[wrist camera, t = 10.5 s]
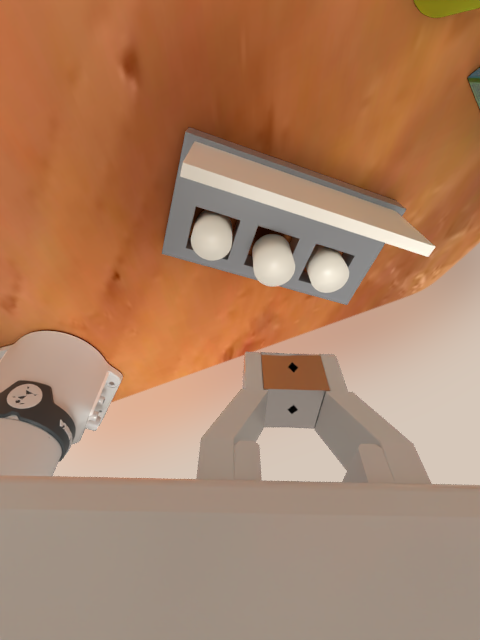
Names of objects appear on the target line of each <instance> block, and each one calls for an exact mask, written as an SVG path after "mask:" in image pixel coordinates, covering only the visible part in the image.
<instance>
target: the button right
mask: <svg viewBox="0 0 480 640" xmlns="http://www.w3.org/2000/svg"><path fill="white" fill-rule="evenodd" d="M305 267H306V270H307V273H308V276H309V278H310V281H311V284H312V286H313V287H314V288H315V289H316V290H317V291H319V292H323V293H330V292H334V291H337V290H339V289H340V288H342V287H343V286H344V285H345V283H346V282H347V280H348V278H349V269H348V267H347V265H346V263H345V261H344V260H343V258H342V256H341V254H340V252H339V251H338V250H335V249H332V248H328V247H325V246H322V245H318V246H315V247H314V249H313V251H312V253H311V255H310V257H309V259H308V261H307V263H306V265H305Z"/></svg>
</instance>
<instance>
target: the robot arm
mask: <svg viewBox="0 0 480 640" xmlns="http://www.w3.org/2000/svg"><path fill="white" fill-rule="evenodd" d="M122 379H123V375H122V374H121V373H120V372H119V371H118V370H116V369H115V368H113V367H112V366H110V365H109V364H108V363H107V362H106V360H105V359H104V358H103V356H102V355H101V354H100V353H99V352H98V351H97V350H96V349H95V348H94V347H93V346H91V345H90V344H88V343H87V342H85V341H83V340H81V339H79V338H77V337H75V336H72V335H69V334H66V333H61V332H56V331H37V332H33V333H29V334H27V335H25V336H23V337H21V338H20V339H19V340H18V341H17V342H16V343H14V344H13V345H9V346H5V347H2V348H0V640H480V485H451V484H431V482H430V480H429V478H428V475H427V473H426V471H425V469H424V466H423V464H422V462H421V460H420V458H419V455H418V453H417V451H416V449H415V447H414V445H413V443H411V442H410V441H409V440H408V439H407V438H406V437H405V436H403V435H402V434H401V433H400V432H399V431H398V430H396V429H395V428H394V427H393V426H392V425H391V424H389V423H388V422H387V421H386V420H385V419H384V418H382V417H381V416H380V415H379V414H378V413H377V412H375V411H374V410H373V409H372V408H371V407H369V406H368V405H367V404H366V403H365V402H364V401H362V400H361V399H360V398H359V397H358V396H357V395H355V394H354V393H353V392H348V390H347V387H346V384H345V381H344V378H343V375H342V373H341V369H340V366H339V364H338V361H337V358H336V356H335V355H334V354H319V355H318V354H284V353H265V352H261V353H259V352H245V357H244V370H243V389H241V390H240V391H239V392H238V394H237V395H236V396H235V397H234V399H233V400H232V401H231V402H230V403H229V405H228V406H227V407H226V408H225V410H224V411H223V412H222V413H221V414H220V416H219V417H218V418H217V419H216V421H215V422H214V423H213V424H212V426H211V427H210V428H209V429H208V431H207V432H206V433H205V434H204V435H203V437H202V438H201V443H200V452H199V461H198V470H197V479H155V478H108V477H60V476H56V477H55V476H53V473H54V471H55V469H56V466H57V464H58V462H59V461H61V460H62V459H63V458H64V456H65V455H66V453H67V452H68V451H69V449H70V447H71V444H75V443H77V442H79V441H80V440H81V437H82V435H83V433H84V430H85V428H86V429H87V428H88V429H90V430H93V431H96V430H97V427H98V426H99V425H100V423H101V421H102V420H103V418H104V415H105V414H106V412H107V409H108V407H109V405H110V403H111V401H112V399H113V397H114V395H115V393H116V391H117V389H118V387H119V385H120V383H121V381H122ZM263 427H295V428H315V431H316V432H317V433H318V435H319V436H320V437H321V439H322V440H323V441H324V442H325V444H326V445H327V446H328V447H329V449H330V450H331V451H332V452H333V454H334V455H335V456H336V457H337V459H338V460H339V461H340V462H341V464H342V465H343V466H344V468H345V469H346V470H347V473H346V475H345V477H344V479H343V482H299V481H261V465H260V449H259V445H258V444H257V443H256V440H257V439H258V437H259V435H260V434H261V432H262V430H263Z"/></svg>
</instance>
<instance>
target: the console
mask: <svg viewBox="0 0 480 640" xmlns="http://www.w3.org/2000/svg"><path fill="white" fill-rule="evenodd" d="M196 207H199V208H202V209H206V210H209V211H212V212H215V213H219V214H222V215H225V216H228V217H231V218H235V219H238V220H237V223H236V226H235V229H234V233H233V236H232V247H231V249H230V251H229V253H228V254H227V255H226V256H225V257H223V258H222V259H219V260H214V261H211V260H206V259H203V258H201V257H200V256H198V255H197V254H196V253H195V251H194V250H193V248H192V245H191V238H189V234H190V230H191V226H192V222H193V218H194V214H195V209H196ZM405 210H406V209H405V208H404V207H403V206H402V205H401V204H399V203H398V202H397V201H396V200H393V199H390V198H388V197H385V196H382V195H379V194H376V193H373V192H371V191H368V190H365V189H362V188H359V187H357V186H354V185H351V184H348V183H345V182H342V181H340V180H337V179H334V178H331V177H328V176H326V175H323V174H320V173H317V172H314V171H311V170H309V169H306V168H303V167H300V166H297V165H295V164H292V163H289V162H286V161H283V160H280V159H278V158H275V157H272V156H269V155H266V154H264V153H261V152H258V151H255V150H252V149H249V148H247V147H244V146H241V145H238V144H235V143H233V142H230V141H227V140H224V139H221V138H218V137H216V136H213V135H210V134H207V133H204V132H201V131H199V130H196V129H193V128H190V127H189V128H188V129H187V130H186V132H185V137H184V142H183V147H182V152H181V157H180V163H179V168H178V173H177V178H176V183H175V188H174V193H173V198H172V204H171V209H170V214H169V219H168V224H167V229H166V234H165V239H164V245H163V250H162V254H165V255H168V256H172V257H175V258H179V259H183V260H186V261H190V262H194V263H197V264H201V265H204V266H208V267H212V268H215V269H219V270H222V271H226V272H230V273H233V274H237V275H241V276H244V277H248V278H251V279H255V280H257V278H256V277H255V274H254V269H253V257H252V256H250V255H248V252H249V249H250V247H251V244H252V241H253V238H254V236H255V233H256V230H257V227H258V226H261V227H264V228H267V229H270V230H273V231H277V232H280V233H283V234H286V235H290V236H293V237H292V239H291V241H290V244H289V245H290V249H291V252H292V255H293V259H294V262H295V272H294V274H293V276H292V277H291V279H290V280H289V281H288V282H286V283H285V284H283V285H280V287H284V288H287V289H291V290H295V291H298V292H302V293H306V294H309V295H313V296H316V297H320V298H324V299H327V300H331V301H334V302H338V303H342V304H345V305H347V304H348V302H349V301H350V299H351V298H352V296H353V294H354V293H355V291H356V290H357V288H358V286H359V285H360V283H361V281H362V280H363V278H364V277H365V275H366V273H367V272H368V270H369V269H370V267H371V265H372V264H373V262H374V260H375V259H376V257H377V256H378V254H379V252H380V251H381V249H382V248H383V246H384V244H385V243H387V244H390V245H393V246H396V247H399V248H402V249H405V250H408V251H412V252H415V253H418V254H421V255H424V256H427V257H428V256H429V255H430V254H431V252H432V251H433V249H434V248H435V246H434V245H433V244H432V243H431V242H430V241H429V240H427V239H426V238H425V237H424V236H423V235H422V234H421V233H420V232H418V231H417V230H416V229H415V228H414V227H413V226H412V225H411V224H410V223H408V222H407V221H406V220H405V219H404V218H403V217H402V215H403V214H404V212H405ZM316 244H319V245H322V246H325V247H328V248H332V249H335V250H338V251H341V252H344V253H343V255H342V258H343V260H344V261H345V263H346V265H347V267H348V269H349V278H348V280H347V282H346V283H345V285H344V286H343V287H342V288H340V289H339V290H337V291H334V292H330V293H323V292H319V291H317V290H316V289H315V288H314V287H313V286H312V284H311V281H310V278H309V276H308V273H307V272H305V271H303V269H304V267H305V265H306V263H307V261H308V259H309V257H310V255H311V253H312V251H313V249H314V247H315V245H316Z"/></svg>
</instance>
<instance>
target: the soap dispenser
mask: <svg viewBox="0 0 480 640" xmlns="http://www.w3.org/2000/svg"><path fill="white" fill-rule="evenodd" d="M414 3H415V5H416V7H417V8H418V9H419V11H420V12H421V13H423V14H424V15H426V16H428V17H432V18H440V17H445V16H449V15H453V14H457V13H461V12H465V11H469V10H473V9H477V8H480V0H414Z"/></svg>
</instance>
